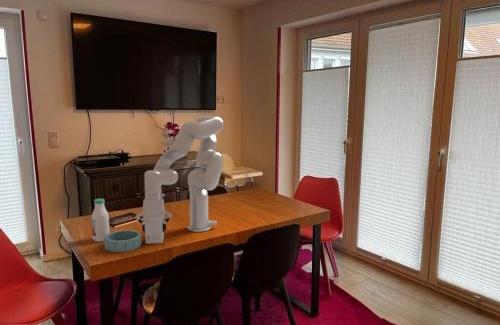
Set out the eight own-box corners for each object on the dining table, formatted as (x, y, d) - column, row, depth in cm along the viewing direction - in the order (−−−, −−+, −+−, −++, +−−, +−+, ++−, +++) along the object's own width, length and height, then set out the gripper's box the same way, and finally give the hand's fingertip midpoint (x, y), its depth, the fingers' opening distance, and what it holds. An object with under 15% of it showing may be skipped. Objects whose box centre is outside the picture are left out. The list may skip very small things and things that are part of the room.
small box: (164, 238, 185) (163, 213, 183) (162, 243, 179) (161, 216, 177) (147, 239, 184) (146, 213, 182) (145, 243, 178) (144, 217, 176)
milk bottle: (112, 236, 188) (110, 197, 185) (106, 242, 180) (104, 201, 177) (96, 236, 187) (94, 197, 184) (90, 242, 180) (87, 201, 177)
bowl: (143, 239, 184) (142, 229, 184) (139, 251, 169) (139, 240, 168) (108, 240, 181) (108, 230, 181) (102, 253, 166) (101, 242, 165)
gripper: (172, 194, 183) (173, 228, 186) (135, 195, 180) (136, 230, 183) (171, 197, 176) (172, 233, 178) (133, 198, 173) (134, 235, 175)
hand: (154, 231), depth 181 cm, fingers closed on small box, 8 cm apart
